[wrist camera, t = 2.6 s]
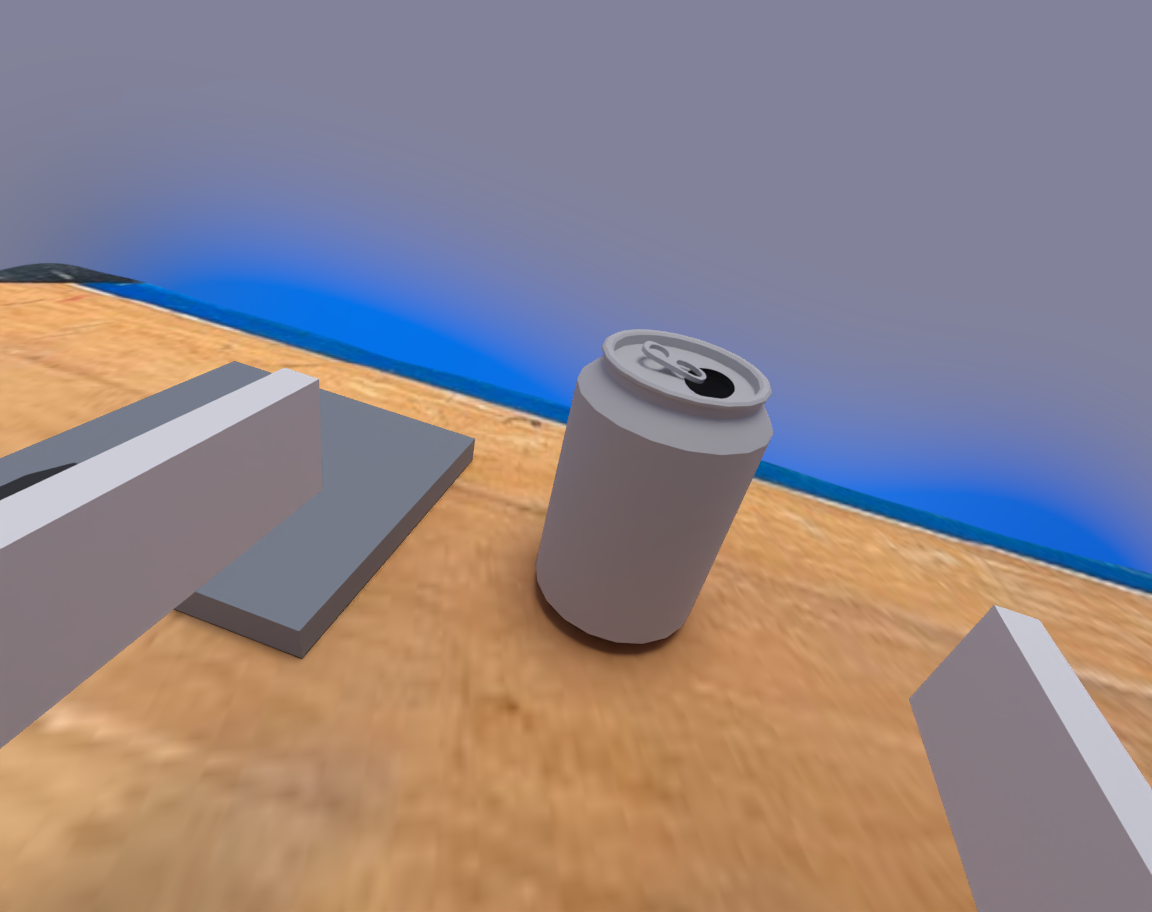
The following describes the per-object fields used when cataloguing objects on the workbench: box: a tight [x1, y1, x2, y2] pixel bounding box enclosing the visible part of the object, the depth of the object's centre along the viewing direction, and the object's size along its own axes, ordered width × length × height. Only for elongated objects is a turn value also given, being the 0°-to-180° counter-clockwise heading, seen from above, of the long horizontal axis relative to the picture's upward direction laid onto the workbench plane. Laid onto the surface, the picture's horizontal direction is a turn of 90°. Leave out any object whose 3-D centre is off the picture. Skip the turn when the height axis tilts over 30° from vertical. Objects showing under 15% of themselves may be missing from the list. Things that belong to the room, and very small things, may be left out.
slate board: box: [0, 361, 475, 658], centre depth 26 cm, size 16×15×2 cm
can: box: [536, 329, 773, 644], centre depth 23 cm, size 8×8×12 cm
